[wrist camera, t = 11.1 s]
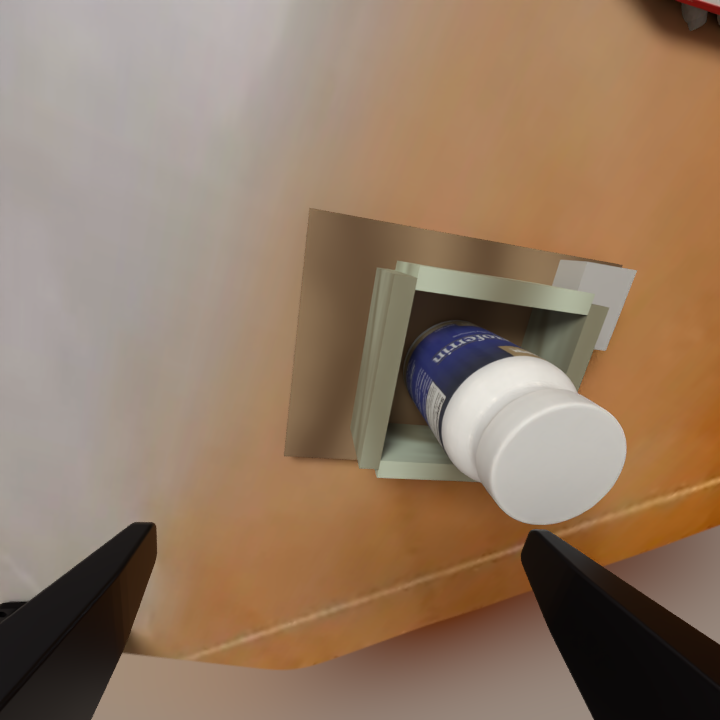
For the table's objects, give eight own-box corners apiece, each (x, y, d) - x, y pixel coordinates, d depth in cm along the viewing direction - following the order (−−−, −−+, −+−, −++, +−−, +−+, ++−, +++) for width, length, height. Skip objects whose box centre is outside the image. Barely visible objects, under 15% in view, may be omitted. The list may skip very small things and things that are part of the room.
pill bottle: (492, 309, 20) (657, 372, 10) (493, 398, 22) (633, 518, 12) (394, 327, 19) (474, 410, 10) (405, 416, 21) (480, 556, 12)
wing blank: (536, 335, 21) (558, 344, 19) (560, 259, 19) (587, 261, 17) (579, 340, 21) (605, 350, 19) (605, 267, 20) (637, 270, 18)
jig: (284, 446, 22) (278, 503, 17) (309, 209, 18) (309, 198, 13) (536, 461, 25) (589, 511, 20) (608, 263, 21) (695, 270, 16)
